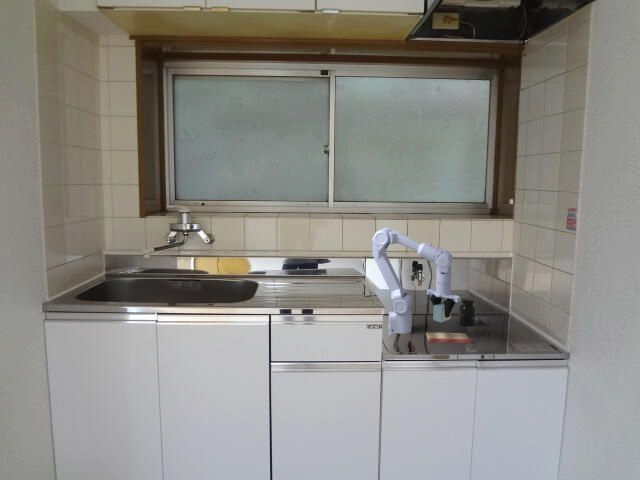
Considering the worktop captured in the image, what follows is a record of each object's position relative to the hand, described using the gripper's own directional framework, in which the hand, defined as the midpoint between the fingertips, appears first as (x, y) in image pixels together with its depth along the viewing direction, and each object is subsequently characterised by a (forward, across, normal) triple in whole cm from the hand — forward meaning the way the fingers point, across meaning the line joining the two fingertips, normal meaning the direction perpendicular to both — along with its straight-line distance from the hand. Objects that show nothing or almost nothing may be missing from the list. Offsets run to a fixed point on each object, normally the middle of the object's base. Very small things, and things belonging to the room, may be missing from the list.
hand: (442, 315), depth 178 cm
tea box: (+2, 0, 0) cm, 2 cm away
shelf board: (+9, +3, 0) cm, 10 cm away
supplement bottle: (+10, -1, +19) cm, 21 cm away
